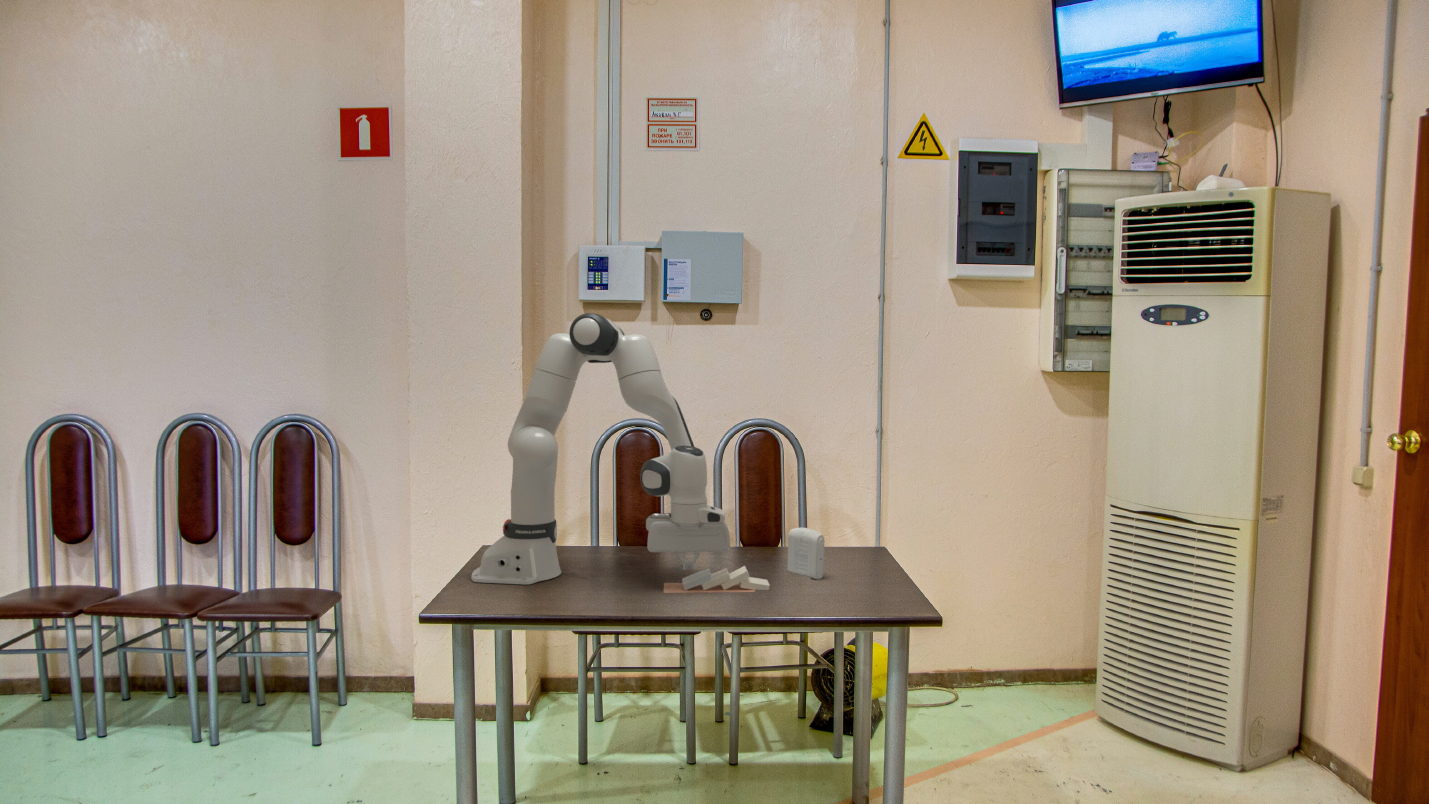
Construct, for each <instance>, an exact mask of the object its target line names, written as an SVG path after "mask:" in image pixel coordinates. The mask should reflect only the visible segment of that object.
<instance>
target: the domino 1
mask: <svg viewBox="0 0 1429 804" xmlns="http://www.w3.org/2000/svg"><path fill="white" fill-rule="evenodd" d="M711 574H712V573H711V571H710V568H709V567H708V568H706V569H702V570H701V571H698V572H695V573H693V574H690V575H687V576H686V577H683V578H681V579H682V582H681V583H683V587H684V589H685V590H688V589H690V588H693V587H695V586H698V585H700V584H703V583H705V582H708V581H710V580H712V577H711Z"/></svg>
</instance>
